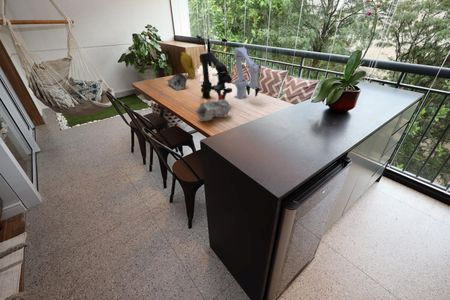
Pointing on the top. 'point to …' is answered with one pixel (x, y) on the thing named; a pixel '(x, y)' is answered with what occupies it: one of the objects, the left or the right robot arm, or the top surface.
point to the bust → (213, 110)
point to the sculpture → (188, 64)
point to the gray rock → (177, 81)
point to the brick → (220, 97)
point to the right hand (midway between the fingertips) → (252, 95)
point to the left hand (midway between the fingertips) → (221, 98)
